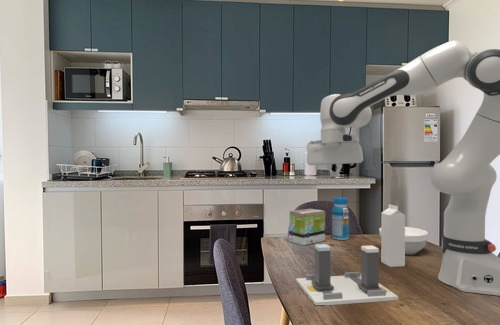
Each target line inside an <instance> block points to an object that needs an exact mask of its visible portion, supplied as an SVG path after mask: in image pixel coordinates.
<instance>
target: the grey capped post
mask: <svg viewBox="0 0 500 325" xmlns="http://www.w3.org/2000/svg"><path fill="white" fill-rule="evenodd" d="M331 248H332V247H331V246H330V245H328V244H327V243H323V244H322V243H321V244H320V243H319V244H318V243H317V244H314V274H315V281H313V282H312V285H313V286H314V287H315V288H316V290H317V291H320V290H334V286H333V285H331V284H330V276H331Z"/></svg>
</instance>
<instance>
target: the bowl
mask: <svg viewBox="0 0 500 325" xmlns="http://www.w3.org/2000/svg"><path fill="white" fill-rule="evenodd" d="M378 232H379V237H380V239H381V227H380V228H378ZM428 237H429V233H428V231H427V230H424V229H421V228H417V227H411V226H410V227H409V226H405V254H406V255H405V256H407V255H408V256H409V255H416V254H417V253H418V252H420V251H421V250H423V248H424V247H425V246H426V245H427V241H428Z"/></svg>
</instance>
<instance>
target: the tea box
mask: <svg viewBox="0 0 500 325" xmlns="http://www.w3.org/2000/svg"><path fill="white" fill-rule="evenodd" d="M288 228H289V231H288V232H289V234H288V235H289V236H288V242H290V243H293V244H297V245H301V246H306V245H310V244H315V243H320V242H325V241H326V211H325V210H322V209H315V208H305V209H297V210H290V211H289V226H288Z"/></svg>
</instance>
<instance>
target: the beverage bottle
mask: <svg viewBox="0 0 500 325" xmlns="http://www.w3.org/2000/svg"><path fill="white" fill-rule="evenodd" d="M348 200H349V198H348V197H346V196H345V197H344V196H343V197H342V196H337V197H336V196H335V197H333V205H334V206H333V207H332V210H331V213H332V214H331V238H332V239H334V240H338V241H346V240H349V238H350V215H349V213H350V210H349V208H348V206H347V205H348V203H349V202H348Z"/></svg>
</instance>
